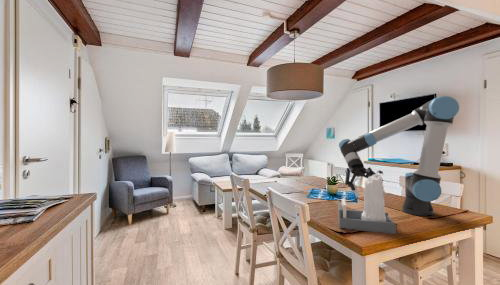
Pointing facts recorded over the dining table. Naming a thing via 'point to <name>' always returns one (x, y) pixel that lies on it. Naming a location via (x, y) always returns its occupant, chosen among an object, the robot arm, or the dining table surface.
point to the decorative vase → (374, 199)
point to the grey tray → (364, 222)
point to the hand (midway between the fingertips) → (370, 195)
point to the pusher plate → (343, 208)
